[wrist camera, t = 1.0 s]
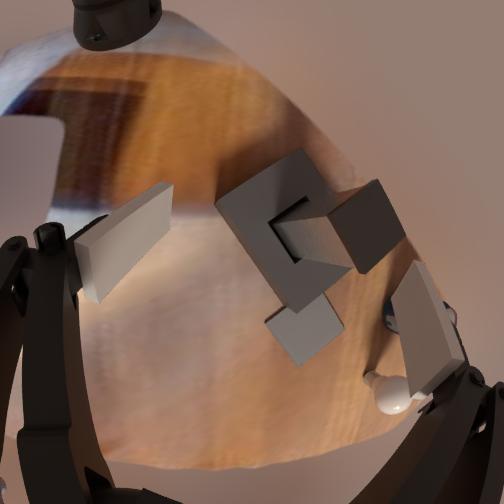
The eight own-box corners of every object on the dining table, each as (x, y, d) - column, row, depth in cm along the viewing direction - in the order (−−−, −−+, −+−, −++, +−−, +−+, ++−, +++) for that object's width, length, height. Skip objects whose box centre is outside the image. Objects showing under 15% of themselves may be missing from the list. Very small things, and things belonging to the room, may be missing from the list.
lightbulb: (375, 352, 42) (417, 377, 31) (386, 373, 43) (425, 399, 32) (347, 377, 41) (385, 408, 30) (360, 397, 42) (396, 428, 31)
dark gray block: (214, 204, 35) (218, 199, 30) (288, 157, 36) (301, 146, 32) (283, 304, 37) (296, 314, 32) (347, 253, 39) (366, 255, 34)
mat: (264, 322, 37) (265, 323, 37) (315, 283, 38) (317, 283, 38) (297, 366, 38) (298, 367, 38) (343, 328, 40) (345, 329, 39)
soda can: (414, 304, 43) (464, 318, 31) (393, 336, 42) (441, 359, 31) (395, 281, 42) (448, 293, 30) (372, 316, 41) (424, 338, 29)
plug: (260, 225, 36) (331, 214, 18) (290, 204, 37) (377, 178, 19) (281, 256, 37) (365, 274, 19) (310, 235, 38) (406, 235, 19)
